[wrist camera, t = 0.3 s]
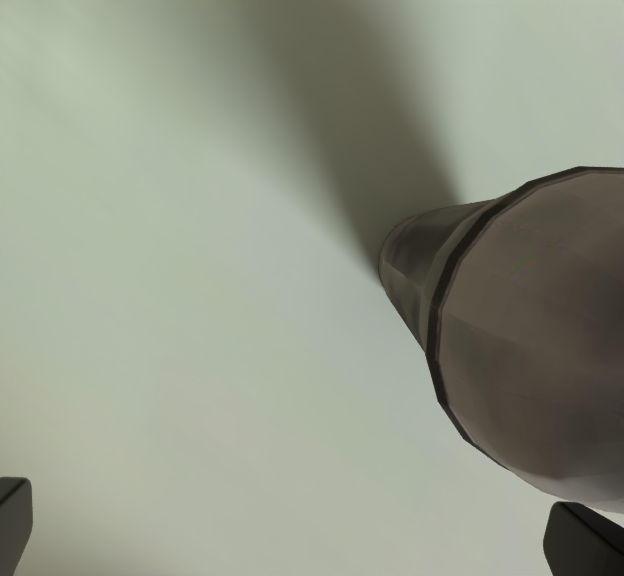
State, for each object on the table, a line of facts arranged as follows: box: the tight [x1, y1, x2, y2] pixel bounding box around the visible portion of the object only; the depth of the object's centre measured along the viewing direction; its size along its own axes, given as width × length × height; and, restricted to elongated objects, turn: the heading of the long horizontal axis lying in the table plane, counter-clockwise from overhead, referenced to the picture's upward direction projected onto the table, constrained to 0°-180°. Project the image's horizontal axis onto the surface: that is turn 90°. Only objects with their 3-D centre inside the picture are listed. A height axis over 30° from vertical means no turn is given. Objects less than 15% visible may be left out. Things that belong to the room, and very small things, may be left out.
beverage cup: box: [379, 166, 624, 514], centre depth 13 cm, size 7×7×20 cm
